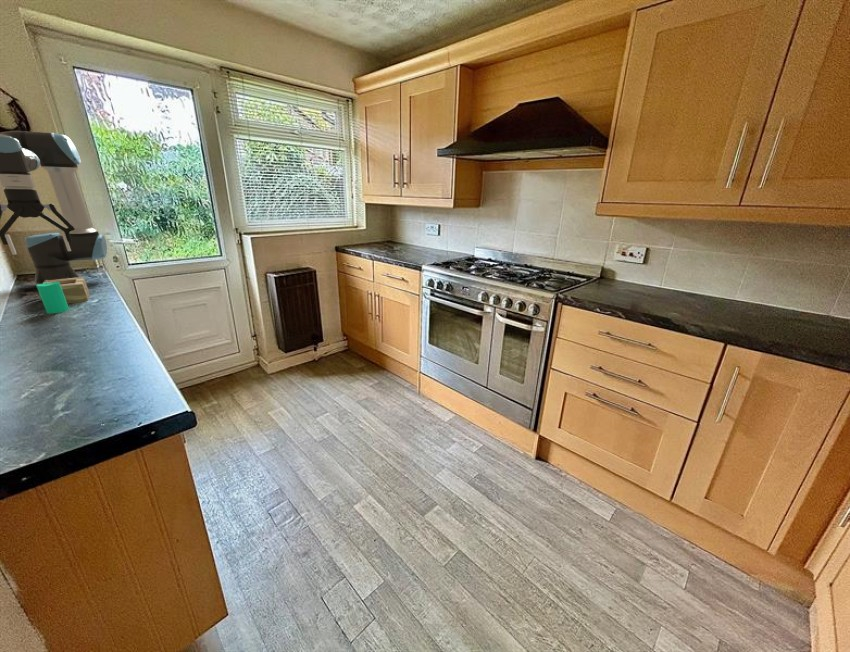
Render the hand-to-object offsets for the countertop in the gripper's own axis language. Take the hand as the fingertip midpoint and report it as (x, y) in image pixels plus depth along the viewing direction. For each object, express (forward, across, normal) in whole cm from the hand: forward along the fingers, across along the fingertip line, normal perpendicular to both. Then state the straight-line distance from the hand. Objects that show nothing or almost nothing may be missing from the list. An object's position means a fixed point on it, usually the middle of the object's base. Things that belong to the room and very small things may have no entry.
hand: (43, 252), depth 124 cm
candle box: (+21, +1, +18) cm, 28 cm away
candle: (+22, -2, 0) cm, 22 cm away
